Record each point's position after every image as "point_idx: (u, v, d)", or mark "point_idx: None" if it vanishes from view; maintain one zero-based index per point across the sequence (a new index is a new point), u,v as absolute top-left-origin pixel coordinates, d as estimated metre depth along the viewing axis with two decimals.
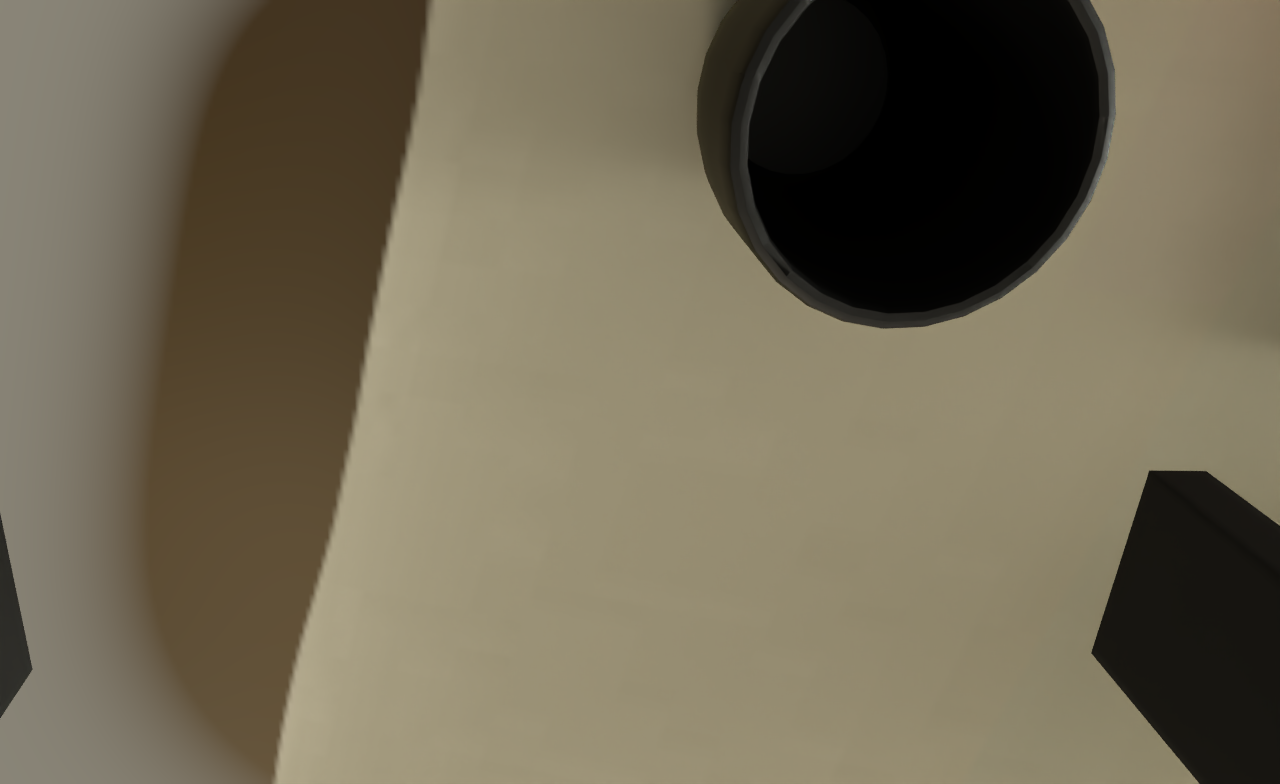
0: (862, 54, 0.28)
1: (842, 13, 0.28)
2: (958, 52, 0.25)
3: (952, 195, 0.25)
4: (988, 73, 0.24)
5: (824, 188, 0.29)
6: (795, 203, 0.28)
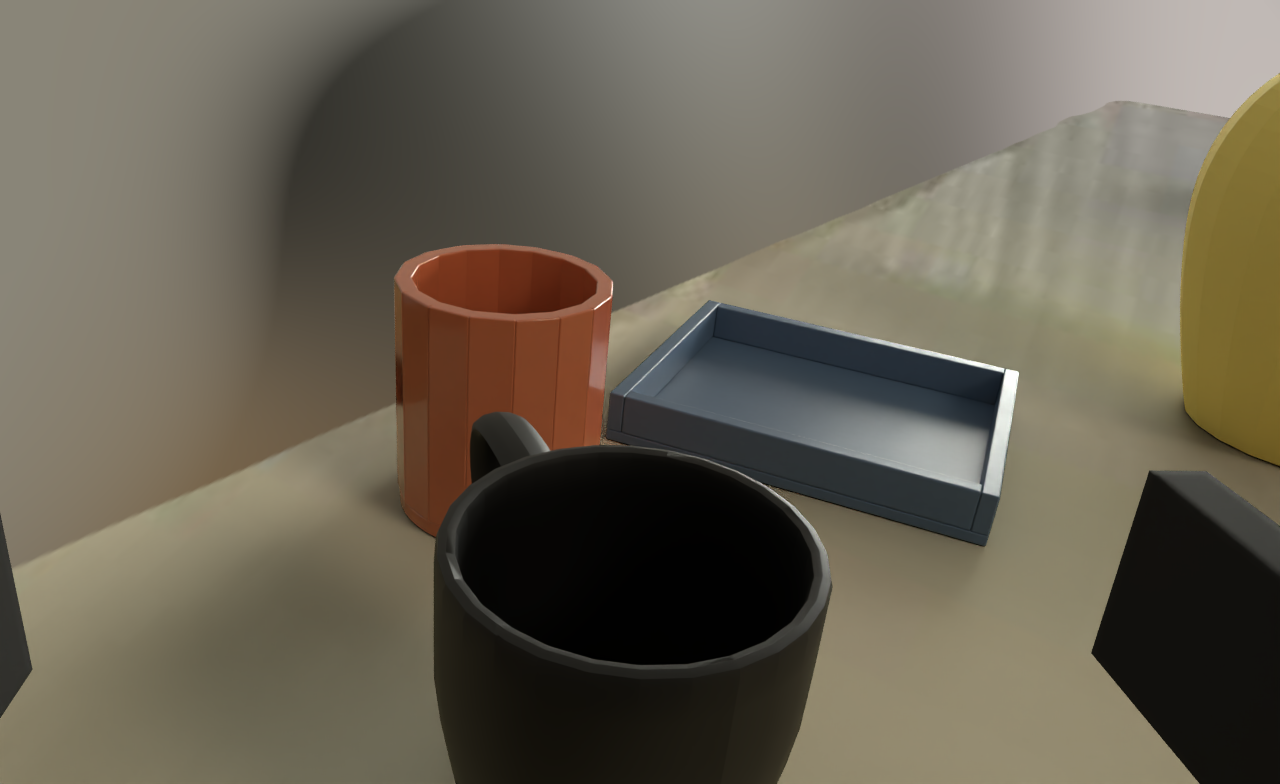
0: None
1: None
2: (609, 651, 0.26)
3: (737, 652, 0.24)
4: (630, 612, 0.26)
5: None
6: None
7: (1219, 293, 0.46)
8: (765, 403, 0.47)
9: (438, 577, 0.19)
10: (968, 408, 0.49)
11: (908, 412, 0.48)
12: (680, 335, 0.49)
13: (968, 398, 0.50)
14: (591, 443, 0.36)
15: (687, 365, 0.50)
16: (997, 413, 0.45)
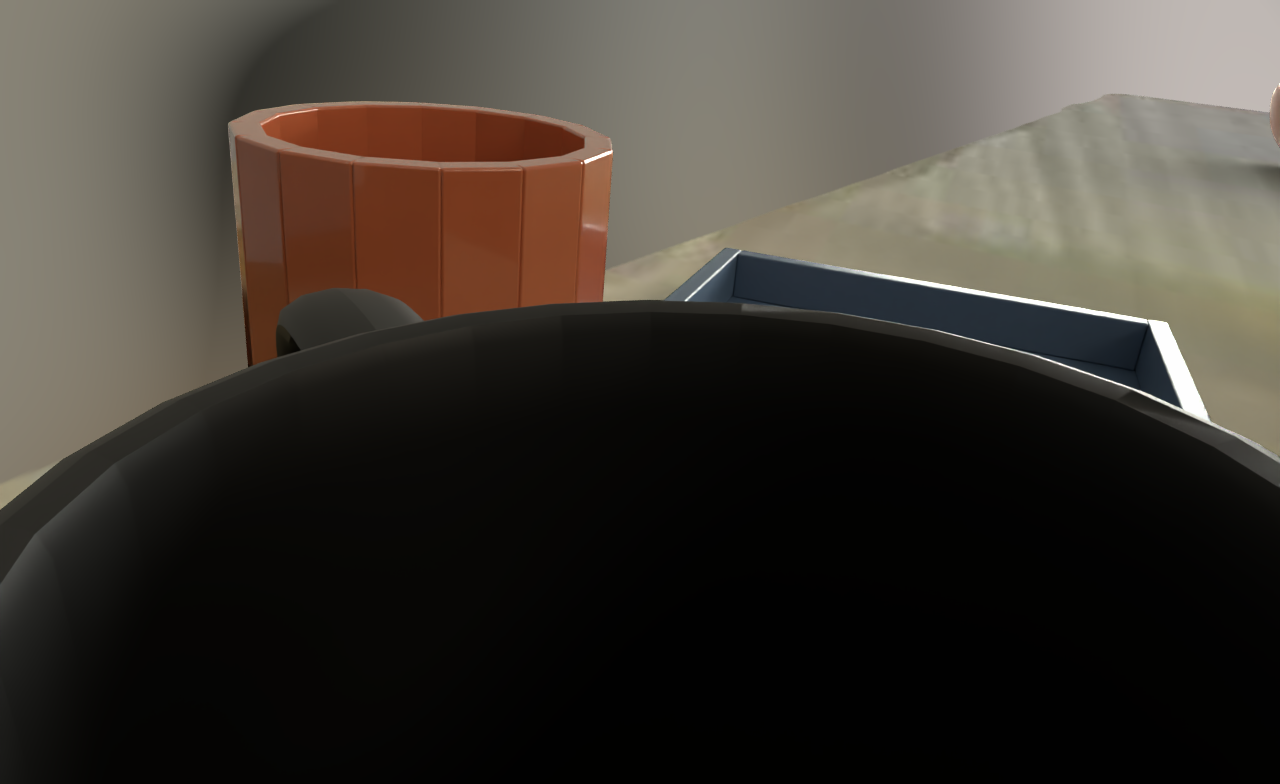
0: None
1: None
2: None
3: None
4: (674, 723, 0.11)
5: None
6: None
7: None
8: None
9: None
10: (1101, 375, 0.35)
11: None
12: (694, 284, 0.35)
13: (1096, 363, 0.36)
14: None
15: None
16: (1168, 372, 0.30)
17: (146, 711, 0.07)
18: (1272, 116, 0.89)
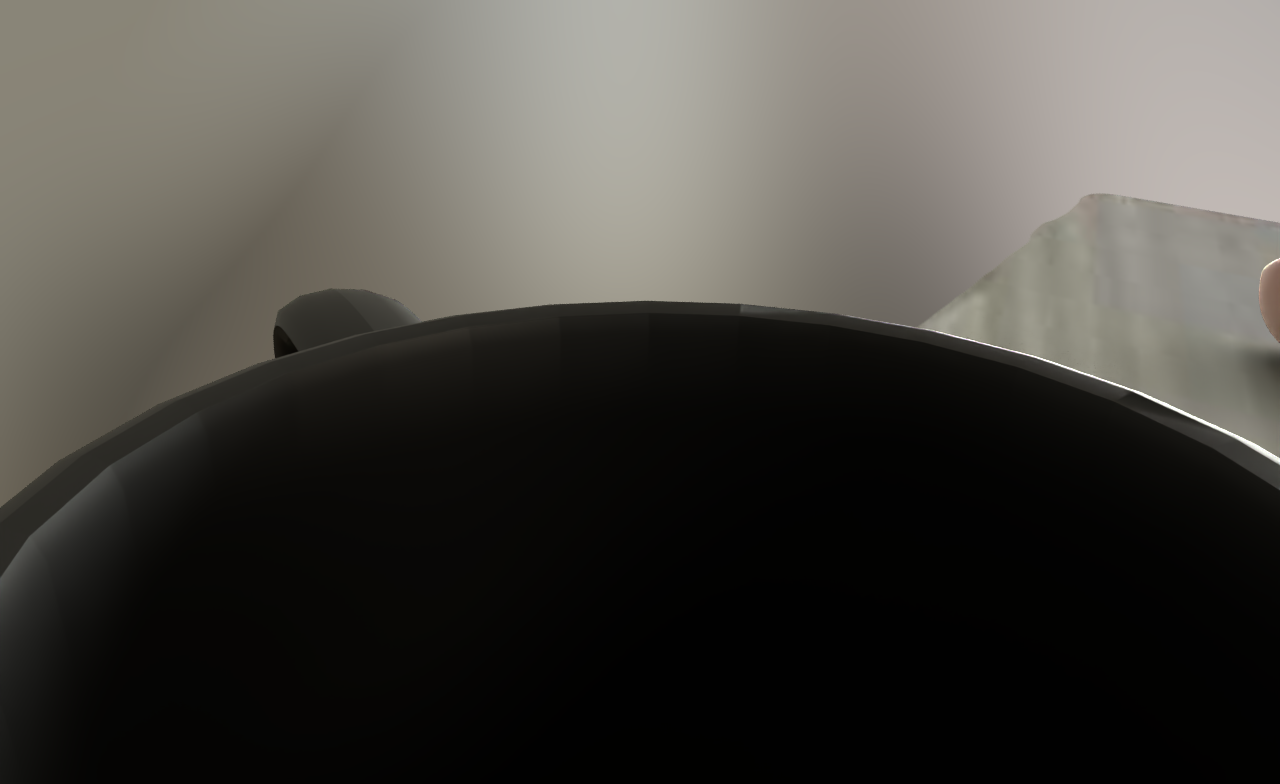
0: None
1: None
2: None
3: None
4: (673, 725, 0.11)
5: None
6: None
7: None
8: None
9: None
10: None
11: None
12: None
13: None
14: None
15: None
16: None
17: (142, 714, 0.07)
18: (1262, 299, 0.77)
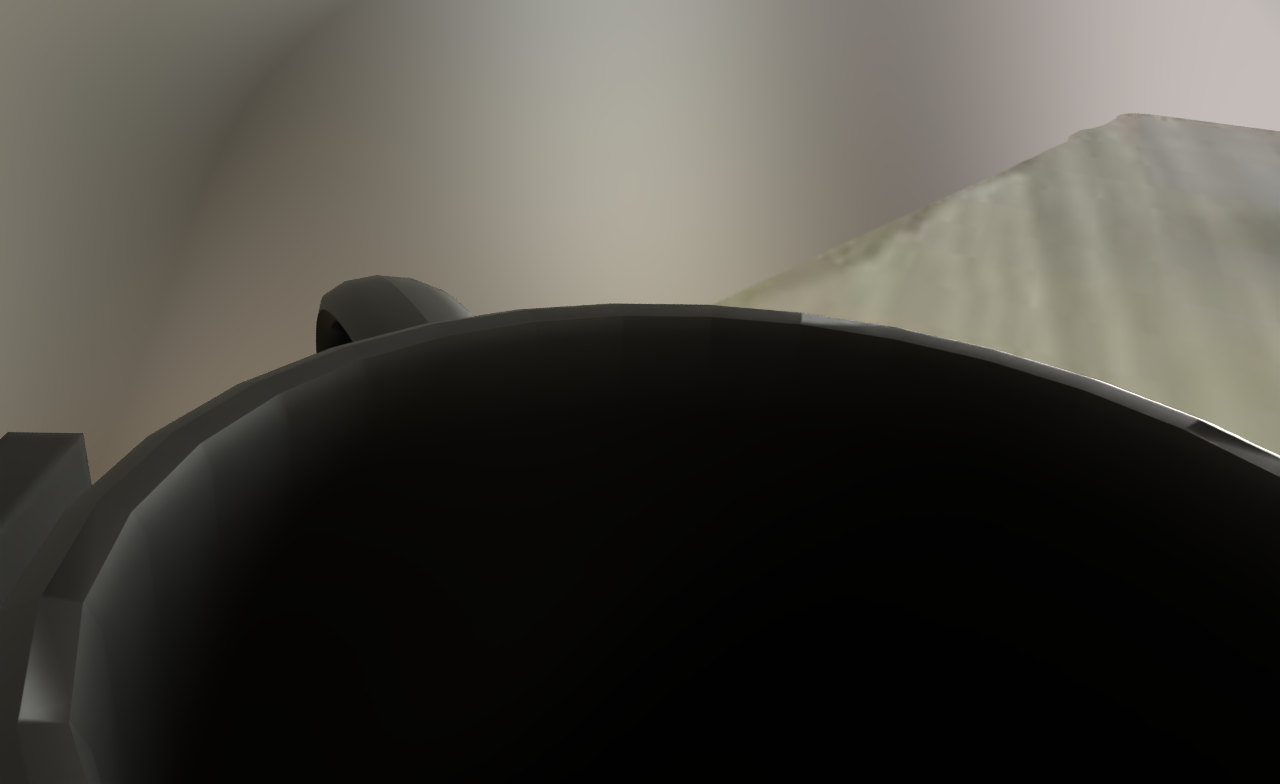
0: None
1: None
2: None
3: None
4: (703, 729, 0.11)
5: None
6: None
7: None
8: None
9: None
10: None
11: None
12: None
13: None
14: None
15: None
16: None
17: (212, 695, 0.07)
18: None
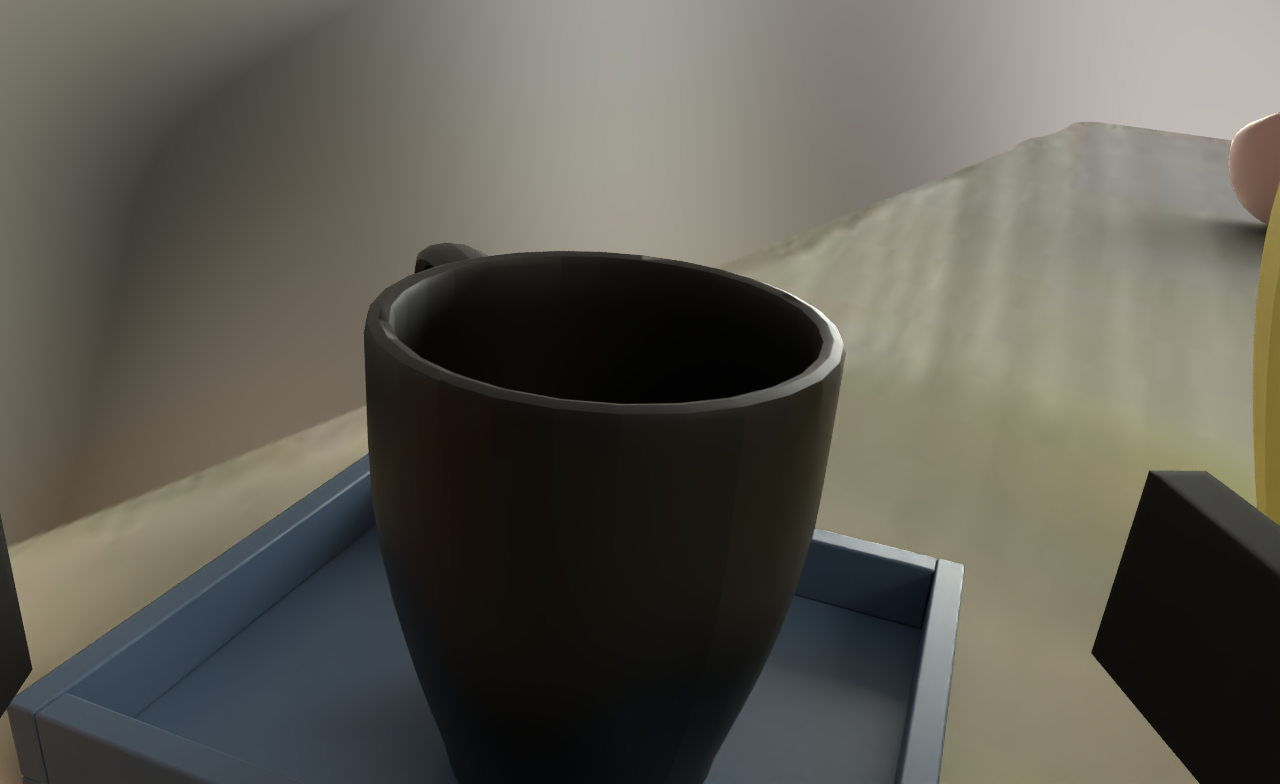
0: None
1: None
2: None
3: None
4: None
5: None
6: None
7: None
8: None
9: (369, 343, 0.16)
10: (868, 642, 0.25)
11: None
12: (295, 515, 0.25)
13: (871, 614, 0.26)
14: None
15: (327, 566, 0.26)
16: (916, 694, 0.20)
17: None
18: (1231, 167, 0.78)
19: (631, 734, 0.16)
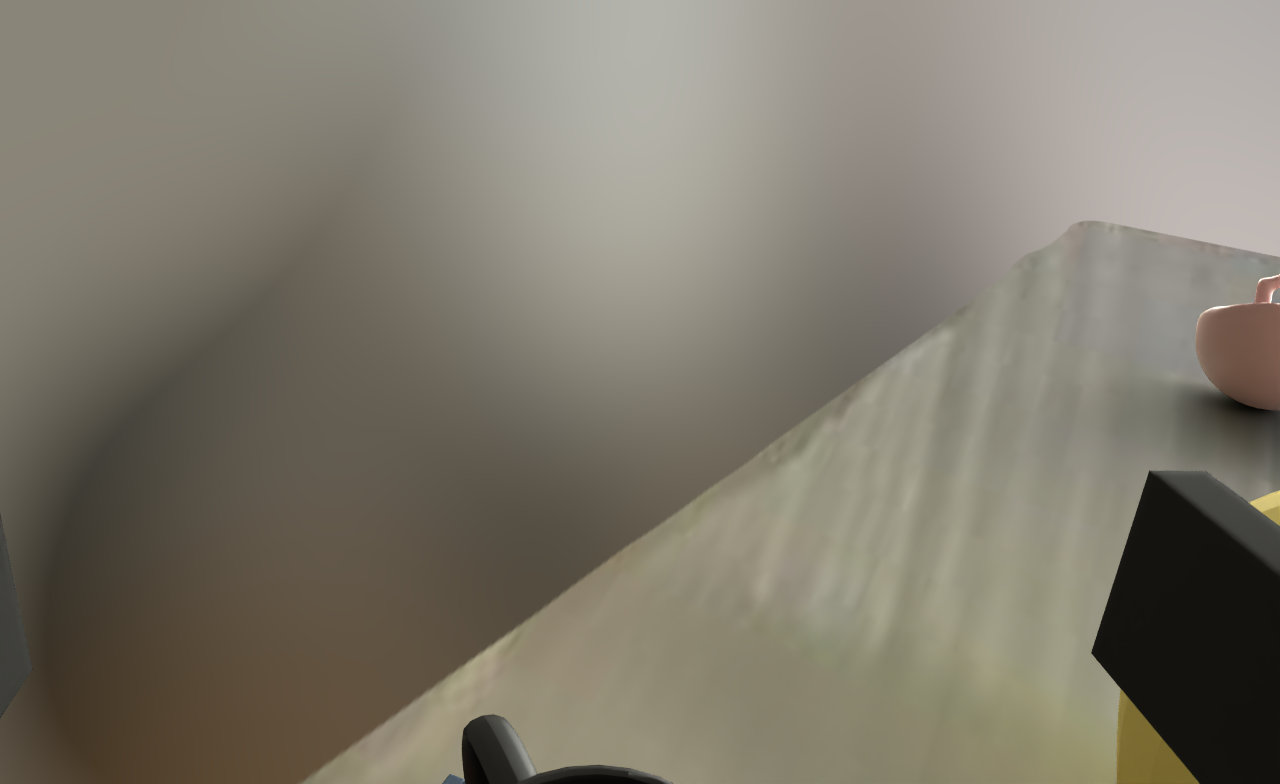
0: None
1: None
2: None
3: None
4: None
5: None
6: None
7: None
8: None
9: None
10: None
11: None
12: None
13: None
14: None
15: None
16: None
17: None
18: (1196, 344, 0.85)
19: None
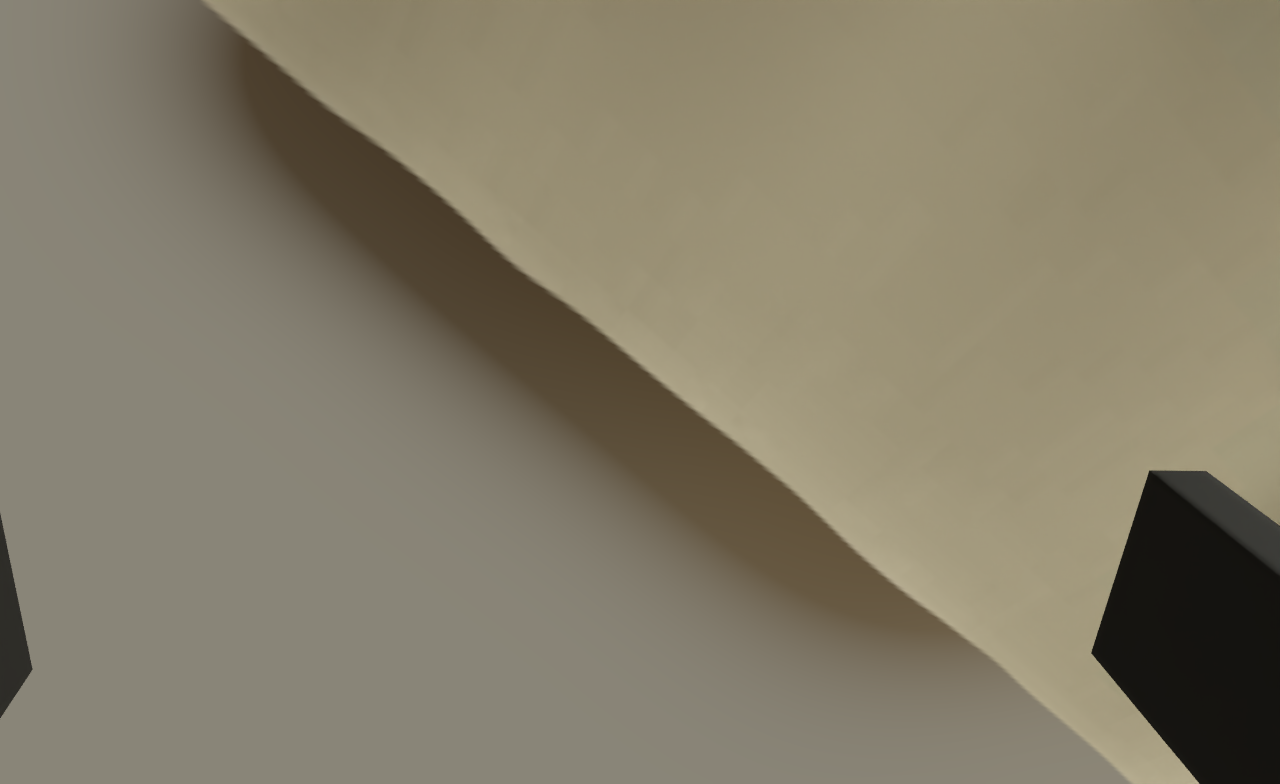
0: None
1: None
2: None
3: None
4: None
5: None
6: None
7: None
8: None
9: None
10: None
11: None
12: None
13: None
14: None
15: None
16: None
17: None
18: None
19: None
